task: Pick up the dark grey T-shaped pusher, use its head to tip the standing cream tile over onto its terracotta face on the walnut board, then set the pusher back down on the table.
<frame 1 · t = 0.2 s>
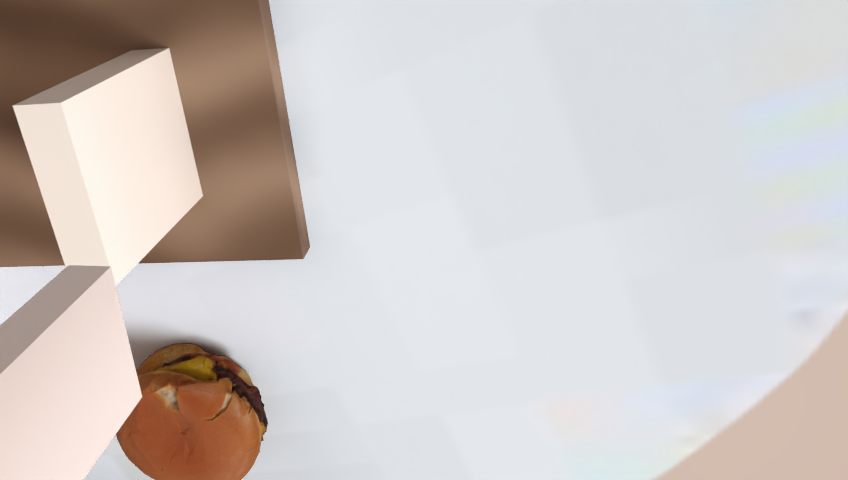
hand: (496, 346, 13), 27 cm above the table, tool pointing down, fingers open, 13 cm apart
burger: (203, 397, 50), on the table
walnut board: (119, 121, 41), on the table
tile: (168, 126, 39), point 1 cm above the table, touching walnut board
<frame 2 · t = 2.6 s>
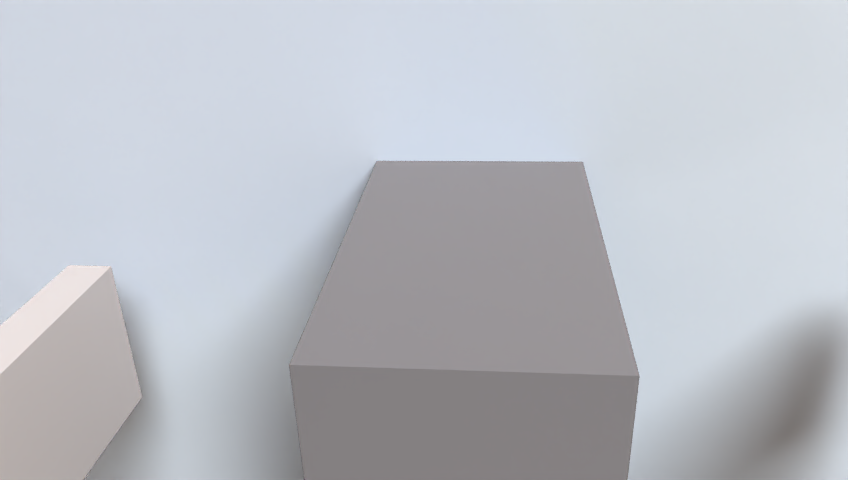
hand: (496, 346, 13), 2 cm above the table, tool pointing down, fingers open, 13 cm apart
pusher: (478, 471, 16), on the table
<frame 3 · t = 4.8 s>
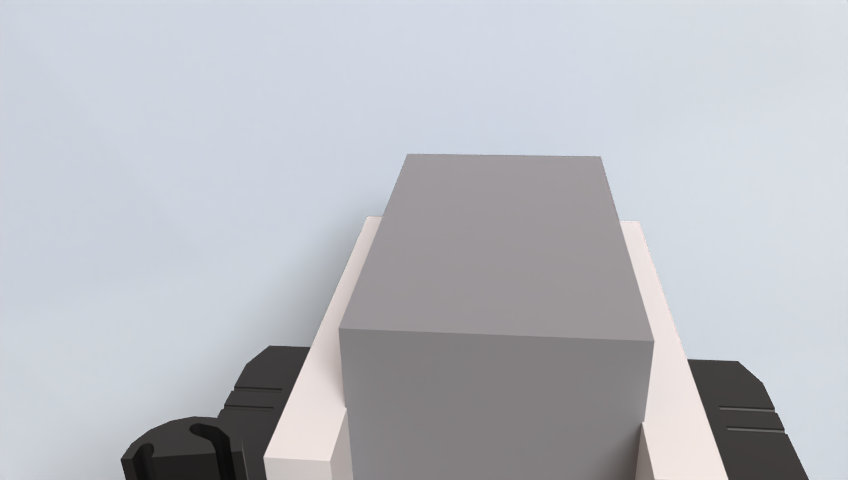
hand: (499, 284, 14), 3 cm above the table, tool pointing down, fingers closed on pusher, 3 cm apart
pusher: (496, 453, 17), point 3 cm above the table, touching gripper
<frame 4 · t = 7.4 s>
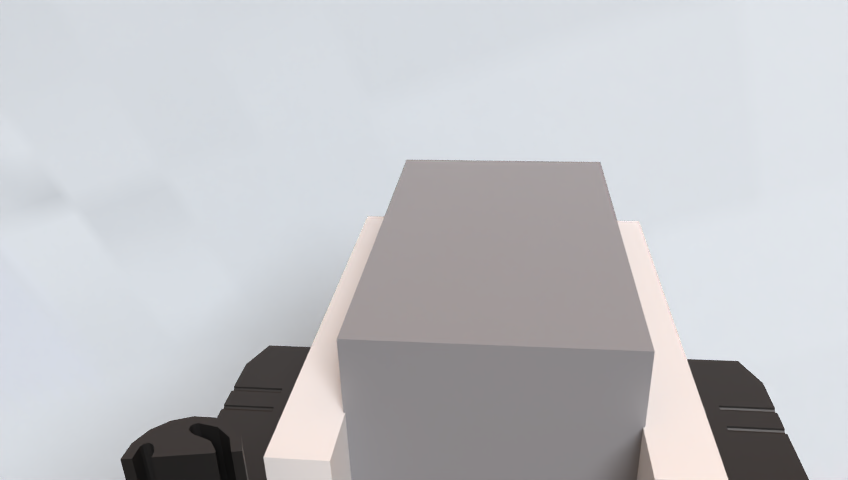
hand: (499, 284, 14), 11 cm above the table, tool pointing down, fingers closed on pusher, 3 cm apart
pusher: (496, 459, 17), point 11 cm above the table, touching gripper
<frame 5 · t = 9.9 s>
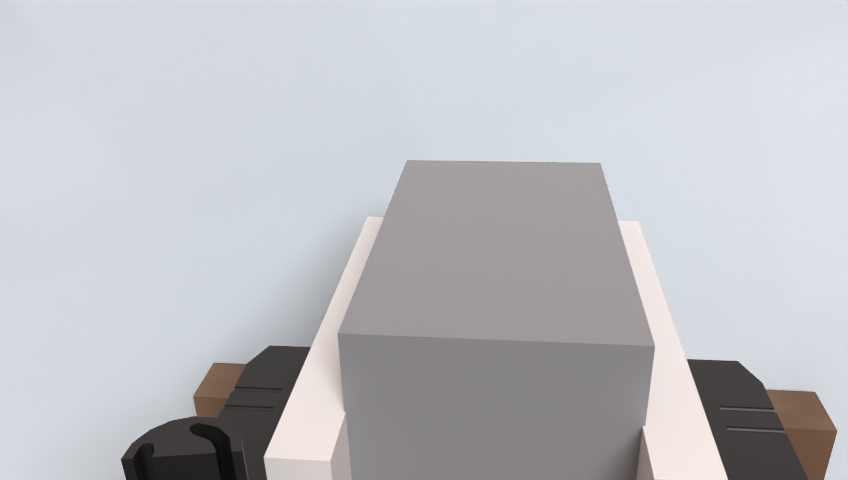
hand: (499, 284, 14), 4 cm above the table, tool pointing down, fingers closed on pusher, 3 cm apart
pusher: (496, 462, 17), point 4 cm above the table, touching gripper
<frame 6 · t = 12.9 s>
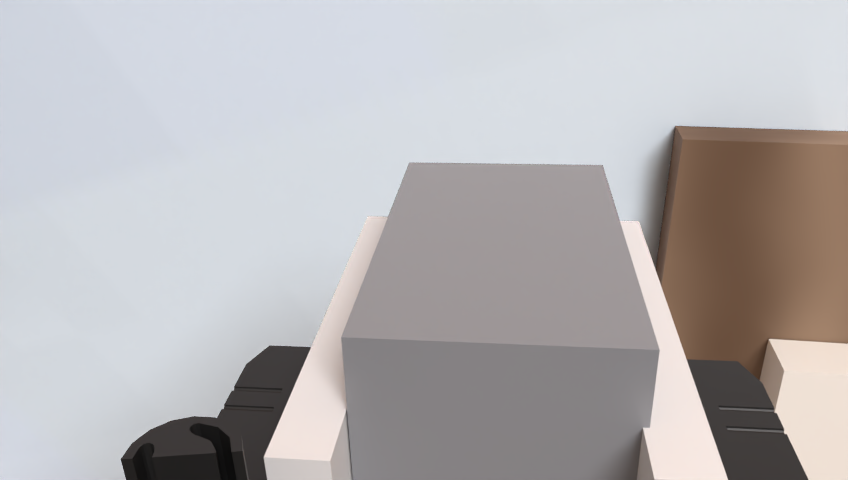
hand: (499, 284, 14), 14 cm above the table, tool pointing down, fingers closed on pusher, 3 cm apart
pusher: (497, 464, 17), point 13 cm above the table, touching gripper
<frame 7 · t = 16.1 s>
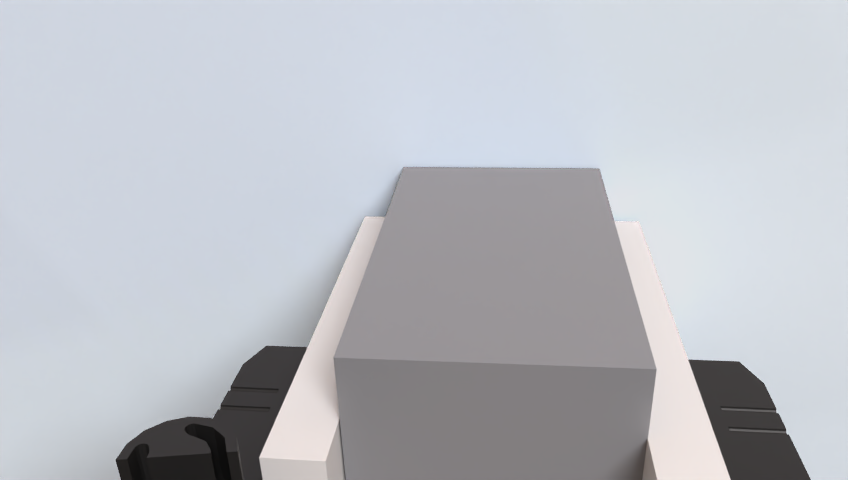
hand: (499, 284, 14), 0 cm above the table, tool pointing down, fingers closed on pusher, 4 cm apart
pusher: (496, 466, 17), on the table, touching gripper
when the fingers open (0 cm above the table, at t = 16.1 s): pusher stays where it is, on the table.
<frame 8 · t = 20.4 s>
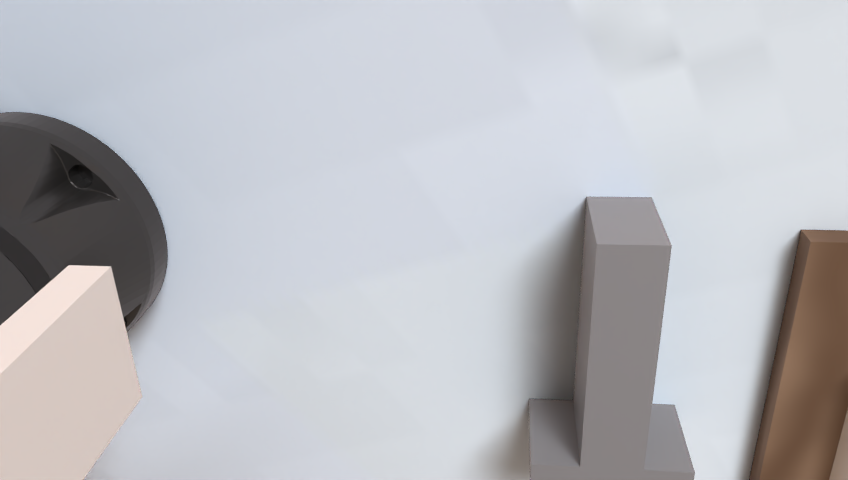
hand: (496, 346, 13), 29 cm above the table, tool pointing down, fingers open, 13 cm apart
pusher: (609, 306, 45), on the table
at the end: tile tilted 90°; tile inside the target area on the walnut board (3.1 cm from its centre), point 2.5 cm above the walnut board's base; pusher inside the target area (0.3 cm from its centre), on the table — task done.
